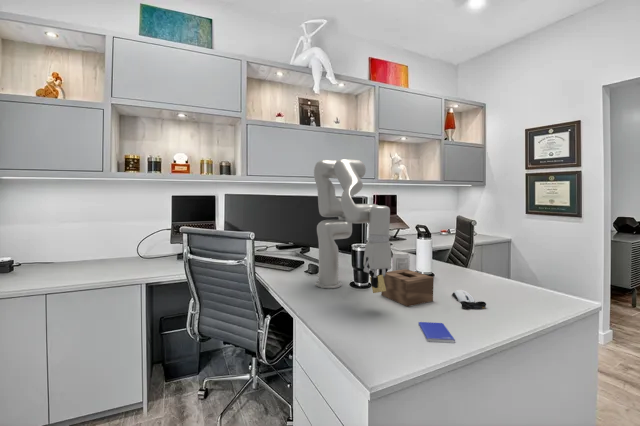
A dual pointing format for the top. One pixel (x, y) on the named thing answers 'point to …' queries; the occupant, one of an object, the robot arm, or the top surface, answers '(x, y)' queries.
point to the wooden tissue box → (408, 287)
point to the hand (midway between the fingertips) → (377, 286)
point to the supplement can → (400, 261)
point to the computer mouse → (467, 300)
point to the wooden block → (379, 284)
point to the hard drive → (436, 332)
